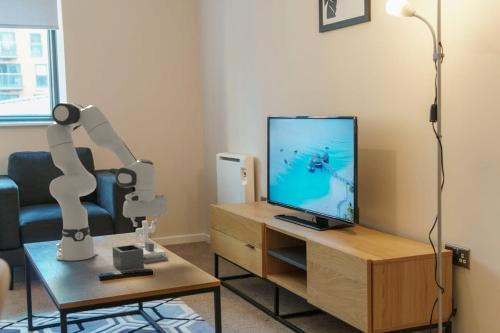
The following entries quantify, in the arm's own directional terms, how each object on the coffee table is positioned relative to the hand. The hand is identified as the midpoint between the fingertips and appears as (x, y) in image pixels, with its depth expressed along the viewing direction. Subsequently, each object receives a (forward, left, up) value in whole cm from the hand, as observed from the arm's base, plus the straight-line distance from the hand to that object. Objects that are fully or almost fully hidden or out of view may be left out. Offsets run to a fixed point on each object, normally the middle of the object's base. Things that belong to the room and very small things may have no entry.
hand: (145, 225), depth 303 cm
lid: (+1, +1, -14) cm, 14 cm away
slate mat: (+1, +1, -15) cm, 15 cm away
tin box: (+10, -12, -15) cm, 22 cm away
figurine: (-13, +4, -15) cm, 20 cm away
